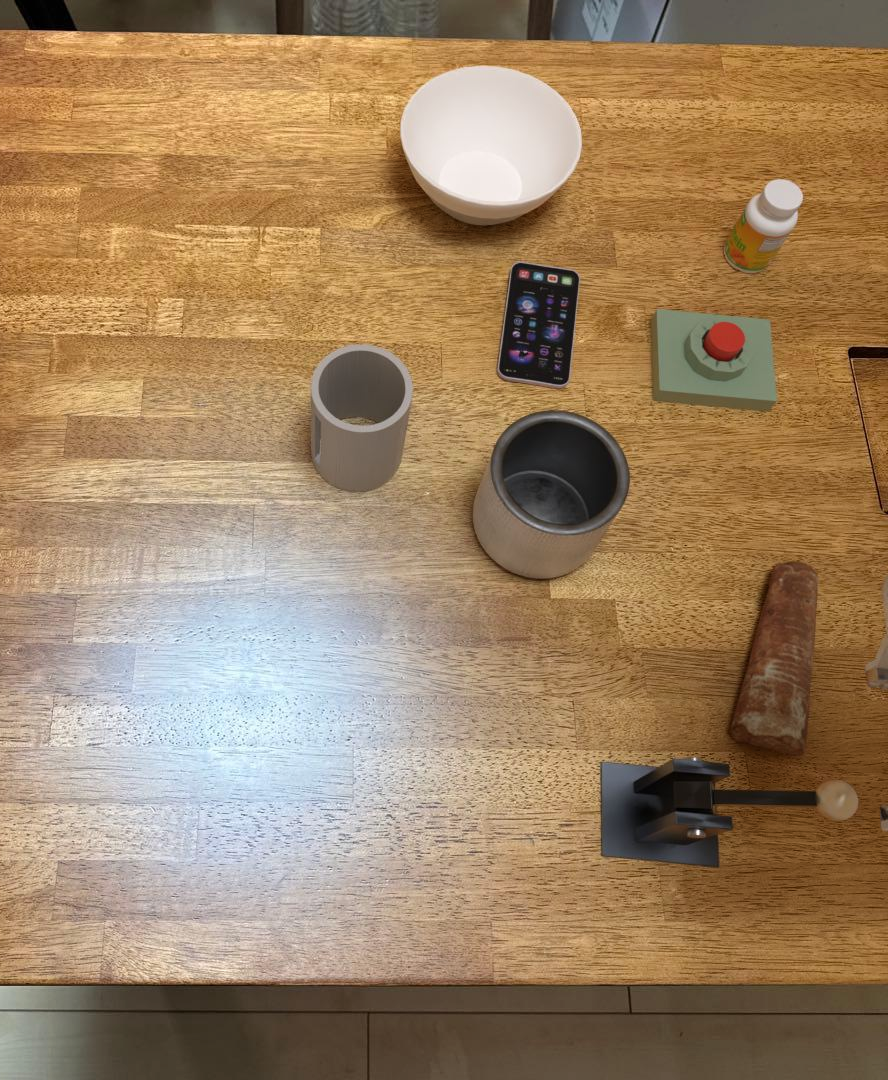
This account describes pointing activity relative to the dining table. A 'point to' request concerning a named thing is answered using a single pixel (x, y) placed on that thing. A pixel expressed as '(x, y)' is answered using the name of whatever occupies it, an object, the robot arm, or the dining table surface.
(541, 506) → the planter
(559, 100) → the bowl
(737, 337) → the button
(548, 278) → the smartphone
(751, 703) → the brown cured sausage
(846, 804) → the lever
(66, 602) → the dining table surface
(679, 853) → the lever base
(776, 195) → the supplement bottle
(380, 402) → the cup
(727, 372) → the button box
